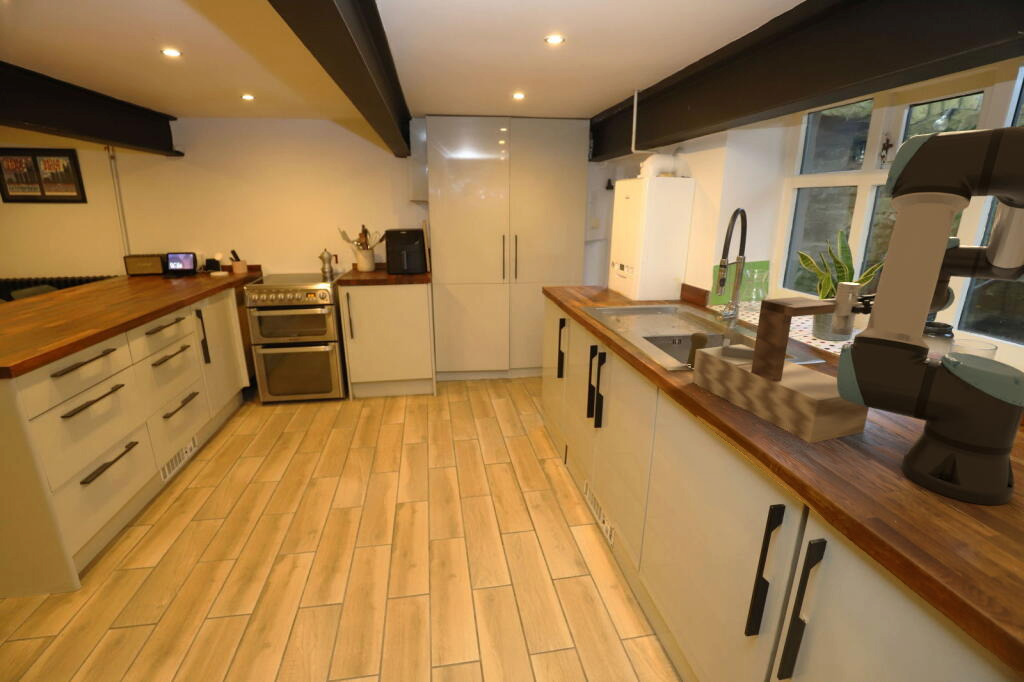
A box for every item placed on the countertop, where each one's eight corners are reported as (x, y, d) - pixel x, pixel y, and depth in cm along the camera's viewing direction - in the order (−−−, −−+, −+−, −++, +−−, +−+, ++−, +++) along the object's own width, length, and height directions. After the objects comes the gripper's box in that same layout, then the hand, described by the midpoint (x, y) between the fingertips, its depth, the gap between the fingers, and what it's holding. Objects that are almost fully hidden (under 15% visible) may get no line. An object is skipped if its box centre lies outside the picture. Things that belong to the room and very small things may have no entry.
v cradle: (778, 360, 124) (780, 349, 123) (735, 366, 119) (737, 355, 119) (738, 345, 136) (739, 336, 136) (698, 350, 132) (699, 340, 131)
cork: (703, 371, 145) (707, 337, 142) (683, 367, 148) (687, 334, 145) (708, 366, 149) (713, 332, 146) (689, 362, 153) (693, 329, 150)
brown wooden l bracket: (821, 379, 110) (836, 303, 105) (781, 385, 107) (795, 307, 102) (788, 367, 118) (800, 296, 113) (751, 372, 115) (761, 300, 110)
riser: (863, 432, 106) (872, 390, 103) (809, 443, 101) (818, 400, 98) (736, 376, 141) (741, 344, 138) (692, 382, 136) (696, 349, 133)
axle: (855, 335, 112) (864, 285, 108) (834, 334, 112) (843, 284, 109) (846, 331, 116) (855, 282, 113) (826, 330, 117) (834, 282, 114)
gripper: (934, 323, 111) (862, 332, 104) (860, 308, 127) (794, 315, 120) (942, 292, 109) (869, 298, 102) (866, 281, 125) (799, 286, 118)
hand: (829, 307), depth 111 cm, fingers closed on axle, 4 cm apart
